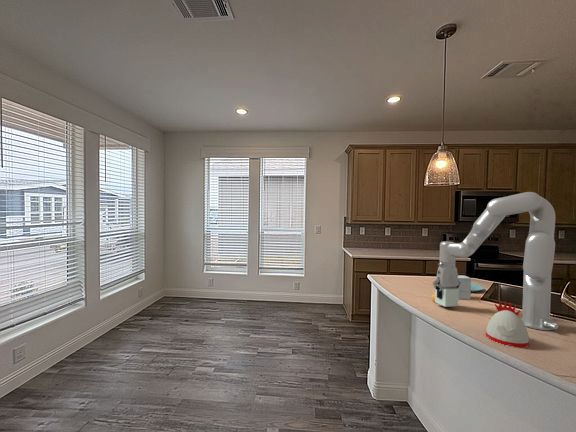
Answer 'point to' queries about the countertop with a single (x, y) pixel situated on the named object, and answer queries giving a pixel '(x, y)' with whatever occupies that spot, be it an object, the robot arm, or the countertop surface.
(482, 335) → the countertop surface
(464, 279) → the supplement box
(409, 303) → the countertop surface
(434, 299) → the ball
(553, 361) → the countertop surface
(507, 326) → the kitchen timer
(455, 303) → the mint green block
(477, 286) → the plate
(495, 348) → the countertop surface
